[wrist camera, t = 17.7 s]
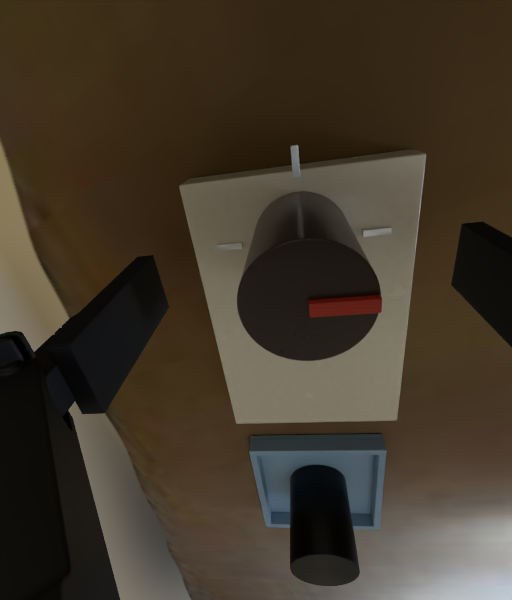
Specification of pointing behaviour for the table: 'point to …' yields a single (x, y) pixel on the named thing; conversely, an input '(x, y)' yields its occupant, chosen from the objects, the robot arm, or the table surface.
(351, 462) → the tray
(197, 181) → the dial control panel
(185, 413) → the table surface
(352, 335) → the knob
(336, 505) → the tin
